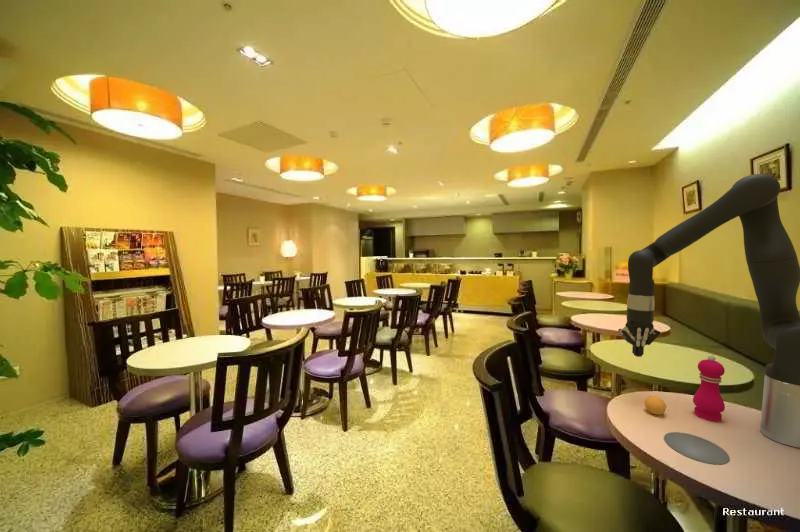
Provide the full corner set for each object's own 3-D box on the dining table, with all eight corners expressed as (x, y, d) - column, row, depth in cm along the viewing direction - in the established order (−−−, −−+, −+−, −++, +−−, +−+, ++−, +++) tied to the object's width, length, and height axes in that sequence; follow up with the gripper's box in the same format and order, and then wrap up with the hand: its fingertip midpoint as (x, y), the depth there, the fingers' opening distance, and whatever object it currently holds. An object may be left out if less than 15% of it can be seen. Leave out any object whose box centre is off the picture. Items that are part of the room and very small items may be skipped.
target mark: (700, 433, 91) (700, 433, 91) (745, 465, 79) (745, 465, 78) (652, 431, 93) (652, 431, 93) (688, 463, 80) (688, 462, 80)
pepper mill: (730, 424, 96) (735, 360, 94) (702, 422, 97) (706, 359, 95) (712, 411, 103) (716, 352, 101) (686, 409, 104) (690, 350, 102)
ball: (657, 408, 105) (658, 393, 104) (670, 418, 99) (671, 401, 99) (640, 408, 105) (640, 392, 105) (651, 417, 100) (652, 401, 99)
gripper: (626, 309, 106) (624, 359, 107) (669, 310, 105) (665, 360, 106) (613, 305, 113) (611, 351, 115) (653, 305, 112) (650, 352, 113)
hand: (637, 355), depth 110 cm, fingers closed
